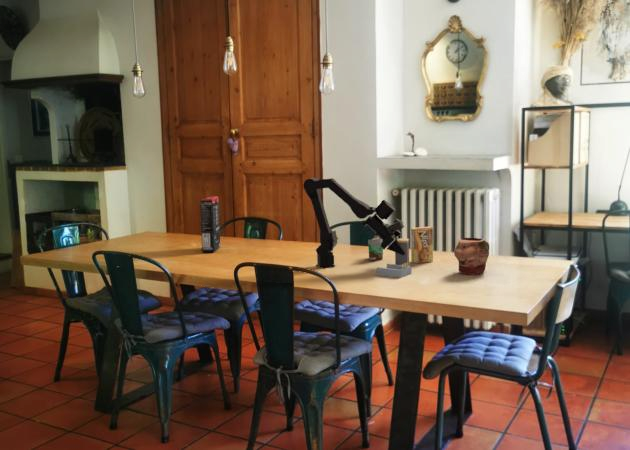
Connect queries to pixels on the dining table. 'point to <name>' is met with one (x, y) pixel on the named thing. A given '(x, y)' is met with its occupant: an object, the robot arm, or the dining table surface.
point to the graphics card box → (210, 224)
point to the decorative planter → (472, 255)
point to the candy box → (422, 244)
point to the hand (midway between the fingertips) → (405, 253)
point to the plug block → (405, 247)
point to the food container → (375, 249)
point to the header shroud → (395, 270)
